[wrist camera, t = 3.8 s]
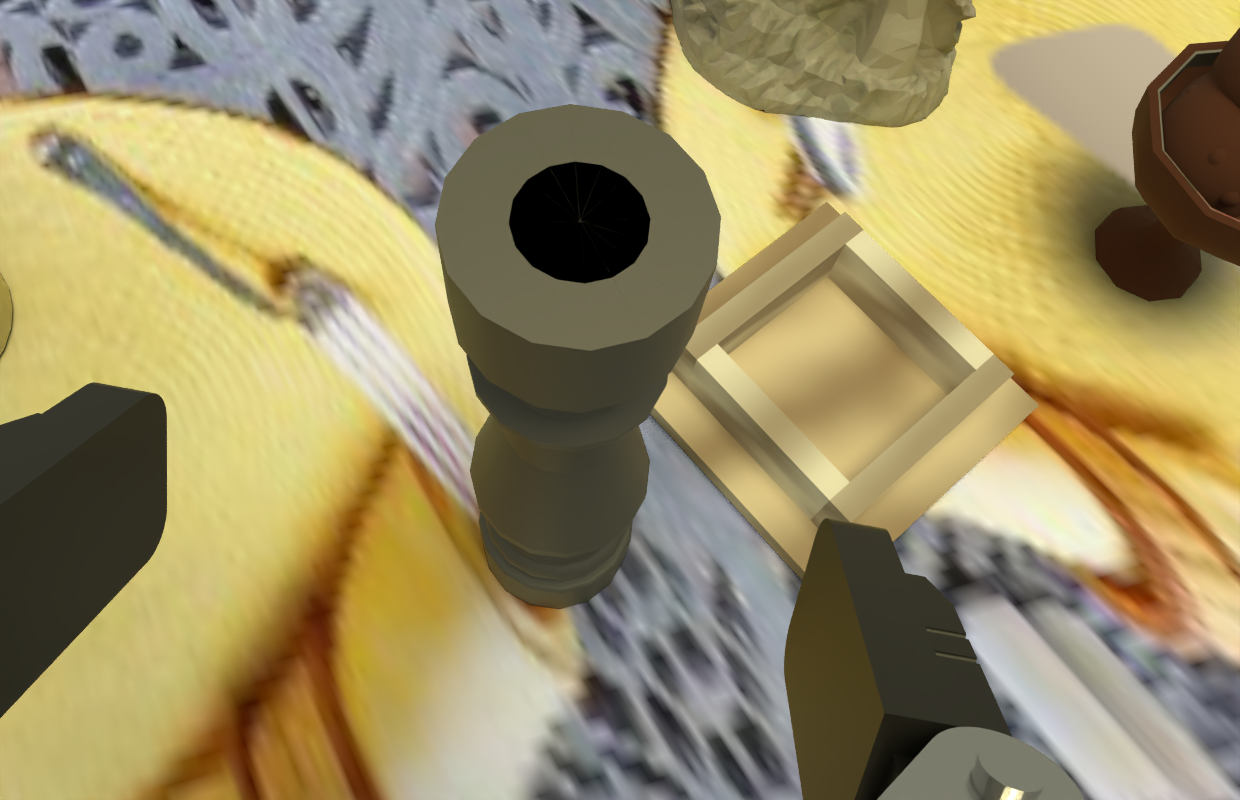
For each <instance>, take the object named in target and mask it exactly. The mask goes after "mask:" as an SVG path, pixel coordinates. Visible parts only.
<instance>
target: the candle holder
mask: <svg viewBox="0 0 1240 800" xmlns="http://www.w3.org/2000/svg"><path fill="white" fill-rule="evenodd" d="M720 221H721V216H720V213H719V210H718V208H717V205H716V202H715V200H714V197H713V194H712V192H711V189H710V186H709V184H708V181H707V178H706V175H705V173H704V171H703V170H702V169H701V168H700V167H699V166H698V165H697V164H696V163H695V161H694V160H693V159H692V158H691V157H690V156H689V155H688V154H687V153H686V152H685V151H684V150H683V149H682V148H681V147H680V146H679V144H678V143H677V142H676V141H675V140H674V139H673V138H672V137H671V136H670V135H669V134H667V133H665V132H663V131H661V130H659V129H657V128H655V127H653V126H651V125H649V124H647V123H645V122H643V121H641V120H639V119H637V118H635V117H633V116H631V115H629V114H627V113H625V112H622V111H615V110H608V109H601V108H594V107H587V106H580V105H573V104H569V105H563V106H558V107H552V108H547V109H541V110H536V111H530V112H525V113H519V114H517V115H515V116H514V117H512V118H510V119H509V120H507V121H505V122H503V123H502V124H500V125H498V126H497V127H495V128H493V129H491V130H490V131H488V132H486V133H484V134H483V135H481V136H479V137H478V138H476V139H474V141H473V142H472V143H471V145H470V146H469V147H468V149H467V150H466V151H465V153H464V154H463V155H462V156H461V158H460V159H459V160H458V162H457V163H456V164H455V166H454V167H453V168H452V170H451V171H450V172H449V173H448V175H447V176H446V177H445V180H444V185H443V190H442V194H441V199H440V204H439V208H438V213H437V218H436V222H435V229H436V234H437V240H438V246H439V252H440V258H441V264H442V270H443V275H444V281H445V287H446V293H447V299H448V303H449V307H450V311H451V315H452V319H453V323H454V327H455V331H456V335H457V339H458V343H459V345H460V346H461V348H462V349H463V350H464V351H465V353H466V354H467V361H468V365H469V369H470V373H471V376H472V380H473V384H474V388H475V392H476V396H477V398H478V399H479V400H480V401H481V403H482V404H483V405H484V406H485V408H486V409H487V410H488V411H489V413H490V415H489V417H488V419H487V421H486V422H485V424H484V426H483V427H482V429H481V430H480V432H479V434H478V435H477V437H476V441H475V446H474V452H473V458H472V463H471V469H470V473H471V478H472V482H473V486H474V490H475V494H476V498H477V502H478V506H479V509H480V511H481V512H480V518H479V525H480V530H481V535H482V540H483V545H484V549H485V553H486V557H487V561H488V565H489V569H490V570H491V571H492V573H493V574H494V575H495V577H496V578H497V579H498V581H499V582H500V583H501V585H502V586H503V587H504V589H505V590H506V591H507V592H509V593H511V594H512V595H514V596H516V597H518V598H519V599H521V600H523V601H524V602H526V603H528V604H530V605H533V606H540V607H548V608H556V609H561V608H565V607H569V606H572V605H576V604H580V603H583V602H587V601H589V600H590V599H591V598H592V597H594V596H595V595H596V594H598V593H599V592H600V591H601V590H603V589H604V588H605V587H607V586H608V585H609V584H610V583H611V581H612V579H613V577H614V576H615V574H616V572H617V570H618V569H619V567H620V565H621V563H622V561H623V560H624V557H625V554H626V551H627V549H628V546H629V543H630V539H631V530H632V521H633V518H634V517H635V515H636V513H637V511H638V509H639V508H640V506H641V504H642V502H643V501H644V499H645V496H646V492H647V482H648V473H649V463H650V460H649V457H648V453H647V450H646V447H645V444H644V441H643V437H642V434H641V431H640V428H639V426H638V425H640V424H641V423H642V422H644V421H645V420H646V419H647V418H648V416H649V415H650V413H651V411H652V409H653V408H654V406H655V404H656V403H657V401H658V399H659V398H660V396H661V394H662V392H663V391H664V389H665V387H666V385H667V380H668V374H669V373H671V371H672V369H673V368H674V366H675V364H676V363H677V361H678V359H679V358H680V356H681V354H682V352H683V351H684V349H685V347H686V346H687V344H688V342H689V341H690V339H691V337H692V335H693V334H694V331H695V328H696V325H697V322H698V319H699V316H700V313H701V310H702V307H703V304H704V301H705V298H706V295H707V292H708V289H709V286H710V283H711V280H712V277H713V274H714V271H715V268H716V265H717V257H718V245H719V233H720Z"/></svg>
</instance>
